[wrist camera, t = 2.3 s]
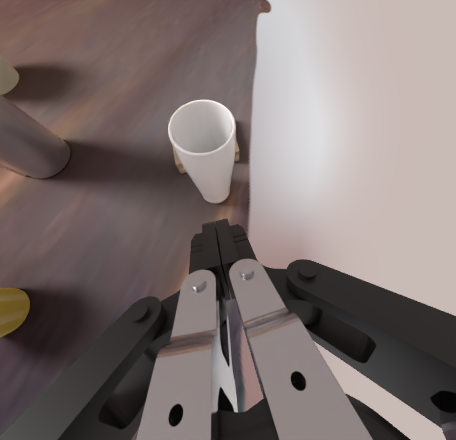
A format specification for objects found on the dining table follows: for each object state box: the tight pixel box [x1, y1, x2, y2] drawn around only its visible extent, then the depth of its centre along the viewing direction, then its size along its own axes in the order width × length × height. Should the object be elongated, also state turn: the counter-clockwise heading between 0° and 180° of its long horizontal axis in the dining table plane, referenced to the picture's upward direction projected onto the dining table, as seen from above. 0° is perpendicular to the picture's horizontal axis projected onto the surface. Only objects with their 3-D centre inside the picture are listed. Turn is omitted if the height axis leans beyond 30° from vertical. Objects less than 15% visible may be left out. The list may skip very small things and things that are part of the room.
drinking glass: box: [168, 100, 236, 203], centre depth 23 cm, size 7×7×15 cm
